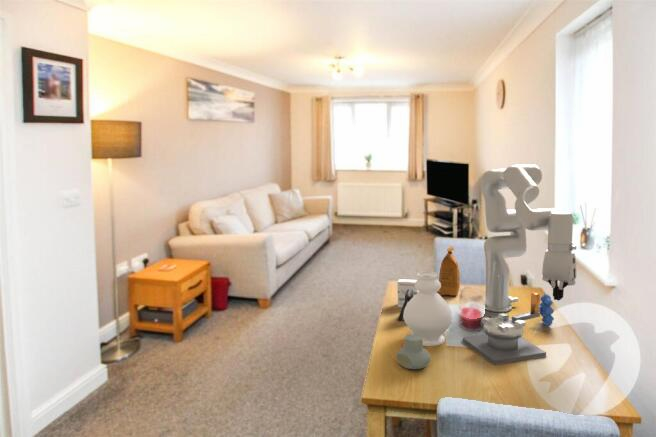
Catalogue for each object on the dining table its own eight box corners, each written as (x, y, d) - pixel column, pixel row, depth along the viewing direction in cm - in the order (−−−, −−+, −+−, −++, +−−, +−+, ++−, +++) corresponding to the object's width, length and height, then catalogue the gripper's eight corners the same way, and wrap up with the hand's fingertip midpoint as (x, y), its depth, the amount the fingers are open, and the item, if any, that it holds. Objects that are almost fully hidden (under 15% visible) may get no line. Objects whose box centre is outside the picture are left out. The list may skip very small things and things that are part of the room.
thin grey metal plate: (510, 334, 187) (510, 319, 186) (546, 356, 168) (546, 339, 167) (462, 341, 182) (462, 325, 181) (493, 364, 163) (494, 347, 162)
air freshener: (434, 368, 162) (434, 339, 161) (416, 375, 158) (416, 345, 156) (410, 356, 171) (410, 329, 170) (392, 363, 166) (392, 335, 165)
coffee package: (462, 290, 241) (462, 245, 238) (458, 298, 230) (458, 251, 226) (441, 288, 245) (441, 244, 241) (436, 295, 234) (436, 250, 230)
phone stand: (421, 317, 207) (420, 289, 205) (419, 322, 202) (419, 294, 200) (399, 315, 210) (399, 288, 208) (397, 321, 204) (397, 293, 202)
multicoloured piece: (502, 342, 166) (503, 309, 164) (475, 329, 177) (476, 298, 175) (552, 329, 175) (553, 298, 173) (523, 317, 187) (524, 288, 185)
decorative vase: (398, 345, 180) (398, 279, 176) (409, 327, 196) (408, 266, 192) (448, 352, 174) (449, 283, 170) (455, 332, 190) (455, 269, 186)
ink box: (418, 304, 223) (418, 279, 221) (417, 308, 218) (417, 282, 216) (398, 303, 225) (398, 278, 223) (397, 307, 220) (397, 281, 218)
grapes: (531, 318, 202) (532, 290, 200) (548, 319, 201) (549, 290, 199) (538, 329, 191) (539, 299, 189) (556, 330, 190) (558, 300, 188)
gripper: (586, 248, 167) (584, 300, 170) (542, 243, 178) (540, 292, 180) (578, 252, 162) (576, 306, 165) (533, 246, 173) (532, 297, 175)
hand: (557, 299), depth 173 cm, fingers closed
